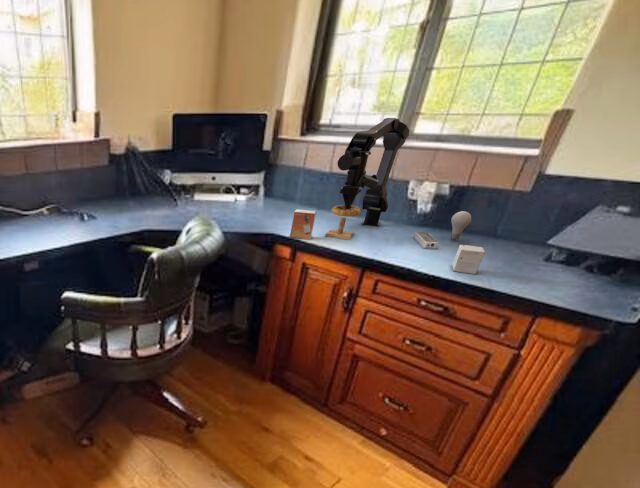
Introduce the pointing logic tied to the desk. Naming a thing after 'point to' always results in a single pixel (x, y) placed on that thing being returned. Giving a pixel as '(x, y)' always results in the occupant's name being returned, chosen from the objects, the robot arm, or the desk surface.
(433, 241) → the multiport hub
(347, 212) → the ring
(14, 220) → the desk surface
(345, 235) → the peg stand
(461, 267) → the product box
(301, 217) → the small box
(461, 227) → the lightbulb
